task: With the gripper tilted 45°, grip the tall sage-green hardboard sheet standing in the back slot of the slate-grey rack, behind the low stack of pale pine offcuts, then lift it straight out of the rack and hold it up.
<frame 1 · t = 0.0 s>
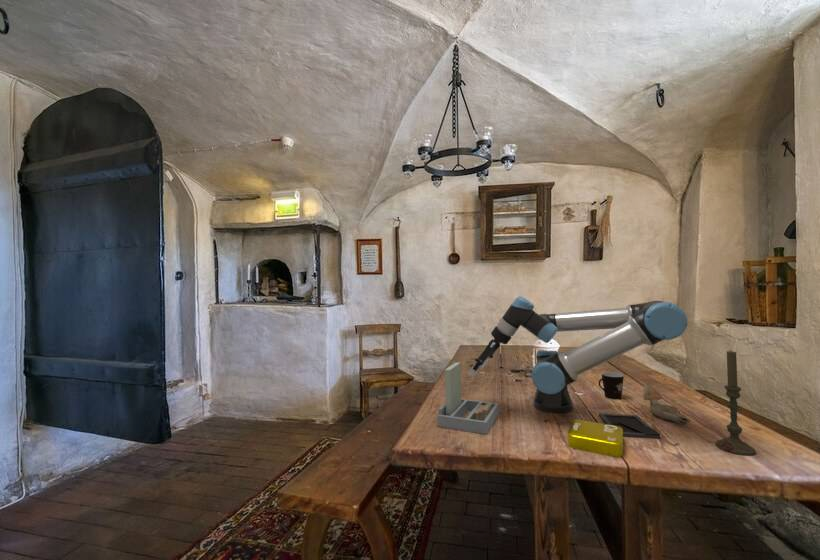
hand: (474, 371, 146), 15 cm above the table, tool tilted 35°, fingers open, 13 cm apart
element tile: (595, 444, 113), on the table
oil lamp: (665, 418, 131), on the table
offcut rack: (454, 417, 137), on the table
coffee mug: (609, 397, 156), on the table
picture frame: (627, 428, 124), on the table
sage hardboard sheet: (454, 417, 137), resting in offcut rack
pine offcut stack: (483, 421, 132), resting in offcut rack
candlestick holder: (735, 449, 107), on the table
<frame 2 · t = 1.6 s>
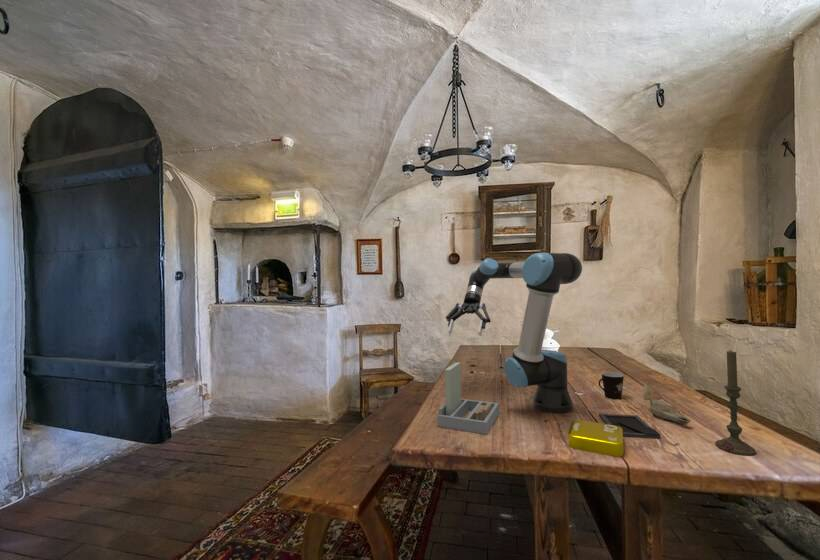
hand: (464, 333, 153), 30 cm above the table, tool tilted 45°, fingers open, 13 cm apart
nothing on the table moved.
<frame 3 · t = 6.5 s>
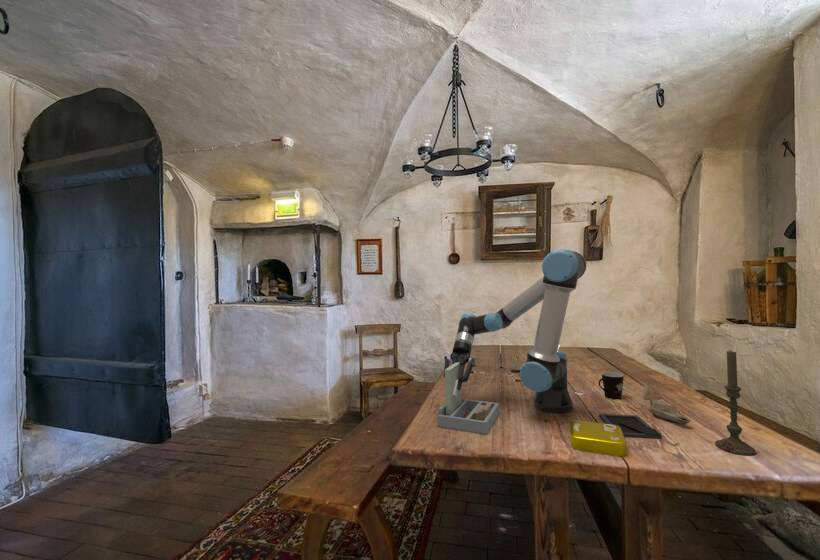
hand: (451, 396, 135), 9 cm above the table, tool tilted 45°, fingers closed on sage hardboard sheet, 2 cm apart
sage hardboard sheet: (454, 417, 137), resting in offcut rack, touching gripper
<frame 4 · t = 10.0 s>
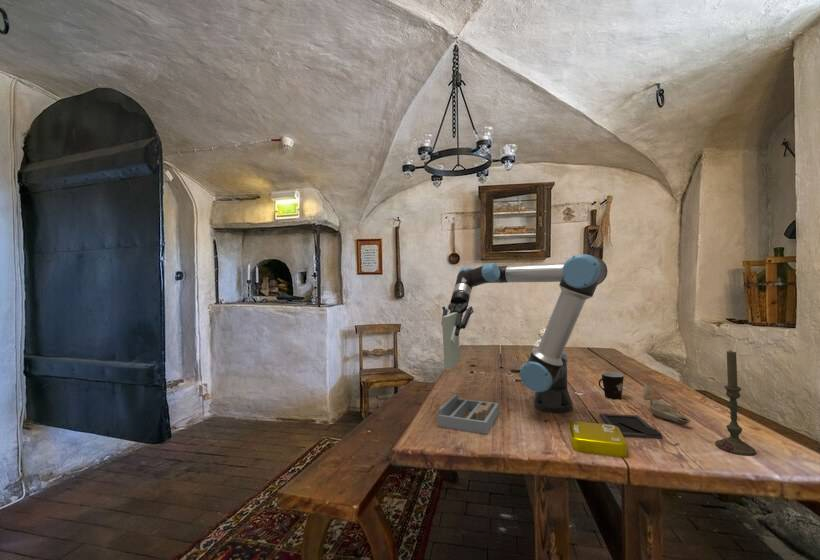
hand: (449, 341, 135), 30 cm above the table, tool tilted 45°, fingers closed on sage hardboard sheet, 2 cm apart
sage hardboard sheet: (452, 365, 138), point 20 cm above the table, touching gripper
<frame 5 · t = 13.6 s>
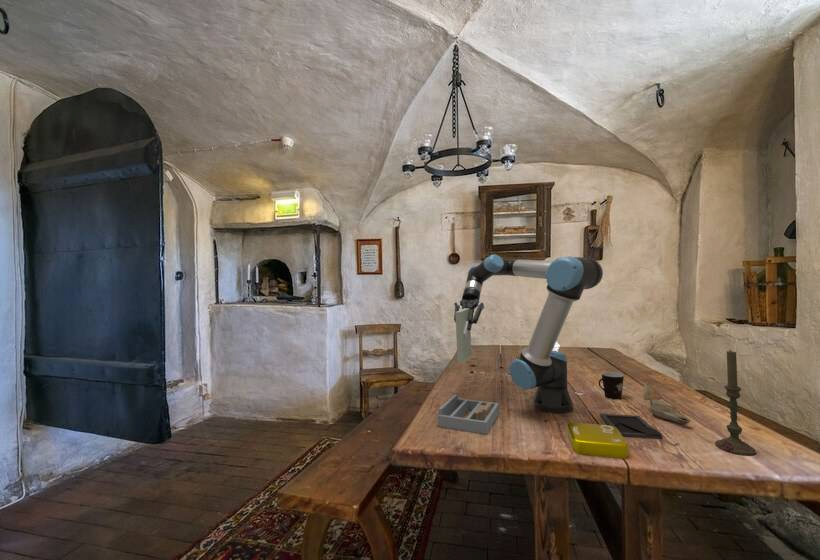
hand: (461, 335, 142), 31 cm above the table, tool tilted 45°, fingers closed on sage hardboard sheet, 2 cm apart
element tile: (595, 447, 111), on the table
sage hardboard sheet: (464, 358, 145), point 21 cm above the table, touching gripper
everything else where it was.
at the end: the gripper is holding sage hardboard sheet; sage hardboard sheet point 21.2 cm above the table; pine offcut stack moved 0.1 cm from its start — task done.
